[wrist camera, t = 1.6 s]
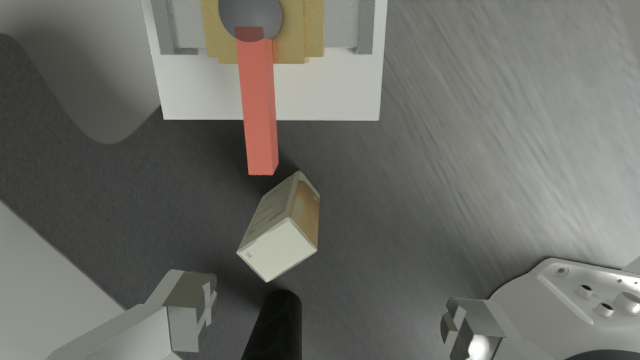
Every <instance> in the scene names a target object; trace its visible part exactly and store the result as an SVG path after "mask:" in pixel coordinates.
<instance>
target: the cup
mask: <svg viewBox="0 0 640 360" xmlns="http://www.w3.org/2000/svg"><path fill="white" fill-rule="evenodd" d="M241 360H302V304H301V301H300V299H299V298H298V296H296V295H295V294H294V293H292V292H289V291H285V290H278V291H274V292H272V293H270V294H269V295H268V296H267V297H266V299H265V301H264V304H263V306H262V309H261V311H260V314H259V316H258V319H257V321H256V324H255V326H254V328H253V331H252V333H251V336H250V338H249V341H248V343H247V346H246V348H245V351H244V353H243V356H242V358H241Z"/></svg>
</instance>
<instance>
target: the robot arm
mask: <svg viewBox="0 0 640 360" xmlns="http://www.w3.org/2000/svg"><path fill="white" fill-rule="evenodd" d="M216 285H217V276H216V275H215V274H209V273H200V272H192V271H181V270H173V269H172V270H170V271H168V272H167V274H166V275H165V276H164V278H163V279H162V280H161V282H160V283H159V285H158V286H157V287H156V289H155V290H154V291H153V293H152V294H151V295H150V297H149V298H148V299H147V301H146V302H145V304H138V305H137V306H135V307H133V308H131V309H129V310H127V311H125V312H124V313H122V314H120V315H118V316H116V317H115V318H113V319H111V320H109V321H107V322H105V323H103V324H102V325H100V326H98V327H96V328H94V329H92V330H91V331H89V332H87V333H85V334H83V335H81V336H80V337H78V338H76V339H74V340H72V341H71V342H69V343H67V344H65V345H63V346H61V347H60V348H58V349H56V350H54V351H53V352H52V353H51V354H50V355H49V356H48V358H47V359H46V360H163V359H164V358H165V357H166V356H167V355H169V353H171V351H187V352H199V350H200V348H201V346H202V343H203V341H204V339H205V336H206V326H208V325H209V324H210V323H211V322H212V320H213V318H214V315H215V311H216V307H217V293H216V292H215V291H214V289H215V287H216ZM446 307H447V309H448V312H447V313H445V314H444V315H443V316H442V320H441V336H442V339H443V342H444V344H445V345H446V346H447V347H448V348H449V349H450V350H451V354H450V359H451V360H640V274H636V273H631V272H625V271H620V270H615V269H610V268H604V267H599V266H594V265H588V264H583V263H578V262H573V261H567V260H562V259H557V258H548V259H545V260H544V261H542V262H541V263H539V264H538V265H537V266H536V267H535V268H533V269H532V270H531V271H530V272H528V273H527V274H525V275H523V276H520V277H518V278H516V279H514V280H512V281H510V282H508V283H506V284H505V285H503V286H502V287H501V288H499V289H498V290H497V291H496V292H495V293H494V294H493V295H492V296H491V297H490V299H489V300H482V299H479V300H478V299H467V298H456V297H450V298H449V300H448V302H447V304H446Z"/></svg>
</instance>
